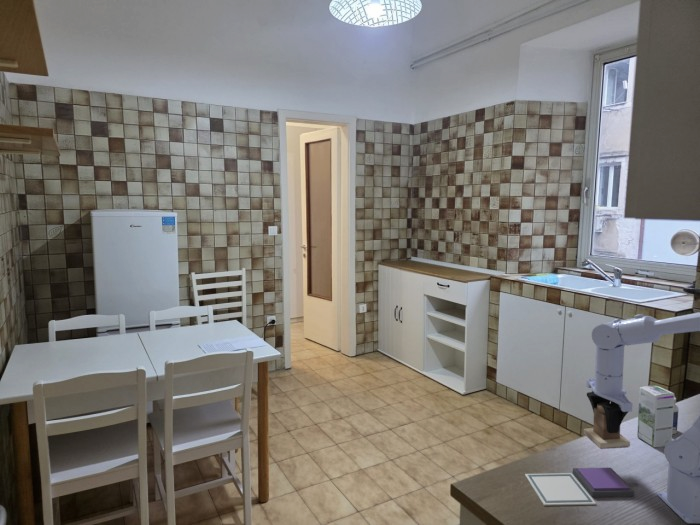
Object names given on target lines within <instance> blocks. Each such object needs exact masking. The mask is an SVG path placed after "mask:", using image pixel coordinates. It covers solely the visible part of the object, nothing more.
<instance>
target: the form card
mask: <svg viewBox="0 0 700 525" xmlns="http://www.w3.org/2000/svg"><path fill="white" fill-rule="evenodd" d="M524 477H525V478H526V480H527V481H528V483H529V484H530V485H531V487H532V489H533V490H534V492H535V494H536V495H537V497H538V498H539V500H540V501H541V503H542V504H543V506H582V505H583V506H585V505H586V506H590V505H591V506H592V505H595V506H596V505H597V502H596V501H595V500H594V499H593V497H592V496H591V495H590V494H589V492H588V491H587V490H586V489H585V488H584V486H583V485H582V484H581V483H580V481H579V480H578V479H577V478H576V477H575V475H574V474H573V472H563V473H561V472H559V473H555V472H554V473H524Z"/></svg>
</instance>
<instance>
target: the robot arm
mask: <svg viewBox="0 0 700 525" xmlns="http://www.w3.org/2000/svg"><path fill="white" fill-rule="evenodd" d="M692 332H700V312H694V313H688V314H683V315H678V316H673V317H668V318H667V317H666V318H662V319H657V318H656V317H653V316H651V315H644V314H643V313H639V314H635V315H634V316H633V318H627V319H621V318H616V319H613V320H612V321H609V322H605V323H601V324H599V325H596V326H595V327H594V328H593V329H592V331H591V339H592V342H593V343H594V345H596V346H595V365H594V366H595V369H594V378H587V379H586V387H587V388H589V389H592V391H590V392H589V391H588V392H586V397H587V398H588V401H589V402H590V405H591V408H592V412H593V413H594V408H597V404H598V403H601V402H605V403H603V404H602V406H603V408H604V411H605V415H606V423H607V431H608V432H609V433H618V431H619V428H620V429H621V424H622V423H623V420H624V418H625V417H627V416H626V415H627V414H628V413H629V412H630V413H631V412H633V403H632V402H631V401H630V400H629V399H628V398H627V396H626V395H627V390H625V389H624V388H623V386H624V385H623V383H624V382H623V380H624V361H625V357H624V356H625V346H631V345H632V346H635V345H642V344H643V345H644V344H650V343H657V342H658V341H659V340H660V339H661V337H662V336H663V335H672V334H673V335H674V334H683V333H692ZM610 403H611V404H610ZM663 448H664V449H663V452H664V457H665V459H666V461H667V462H668V467H667V480H666V481H667V482H666V484H667V485H666V491H657V492H656V495H657V497H659V499H661V500H662V501H663V502H664V503H665V504H666V505H667V506H668V507H669V508H670V509H671V510H672V511H673V512H674V513H675V514H676V515H677V516H679V518H681V520H683V522H684V523H686V524H700V414H699V415H698V416H697V418H696V419H695V421H694V422H693V423H692V424H691V425H690V426H689V427H688V428H686V430H685V431H683V433H681V435H680V436H677V437H676V438H674V439H672V441H670V442H668V443H667V444H666V446H665V447H663Z"/></svg>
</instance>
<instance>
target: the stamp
mask: <svg viewBox="0 0 700 525" xmlns="http://www.w3.org/2000/svg"><path fill="white" fill-rule="evenodd" d="M603 403H605V402H601V403H598V404H597V408H594V412H593V427H591V428H589V427H588V428H583V435H585V437H586V438H588V439H589V440H590V441H591V442H592V443H594V445H596V446H597V447H598V448H599V449H600V450H603V449H604V450H605V449H607V450H608V449H621V448H623V449H624V448H629V447H630V446H631V442H630V440H628V439H627V438H626V437H625V436H624V435H622V434H621V427H620V428H619V431H618V433H609V432H608V431H607V423H606V415H605V411H604V408H603V406H602V404H603ZM610 404H611V402H610Z"/></svg>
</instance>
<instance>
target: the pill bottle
mask: <svg viewBox="0 0 700 525" xmlns="http://www.w3.org/2000/svg"><path fill="white" fill-rule="evenodd" d="M676 403H677V397H676V396H674V412H673V430H672V435H674V434H677V432H678V422H679V421H678V420H679V406H678V405H677V404H676Z"/></svg>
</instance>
